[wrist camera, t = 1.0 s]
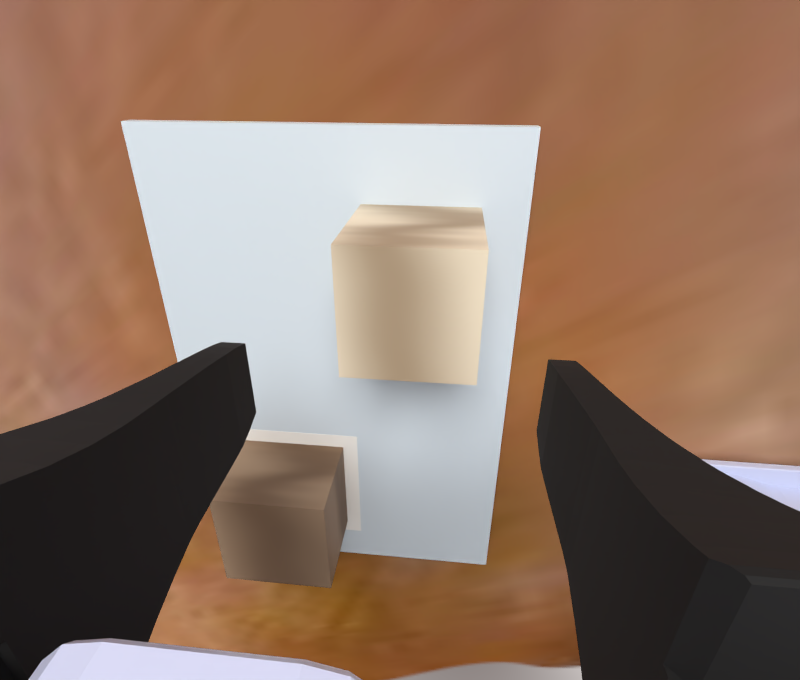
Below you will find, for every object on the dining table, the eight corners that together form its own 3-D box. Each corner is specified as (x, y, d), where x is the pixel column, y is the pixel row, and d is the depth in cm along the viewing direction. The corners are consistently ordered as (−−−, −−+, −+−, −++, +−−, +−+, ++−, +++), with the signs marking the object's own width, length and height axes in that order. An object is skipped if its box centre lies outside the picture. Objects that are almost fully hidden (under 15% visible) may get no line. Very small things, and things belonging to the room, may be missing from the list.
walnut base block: (343, 447, 25) (323, 510, 21) (347, 520, 27) (330, 588, 23) (243, 439, 25) (208, 500, 21) (256, 512, 27) (226, 577, 24)
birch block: (481, 207, 18) (488, 250, 14) (472, 318, 21) (476, 385, 16) (360, 204, 19) (330, 244, 14) (364, 313, 21) (338, 377, 17)
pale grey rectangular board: (538, 125, 18) (540, 127, 17) (485, 555, 28) (485, 564, 27) (130, 119, 19) (120, 121, 18) (224, 531, 29) (219, 540, 29)
